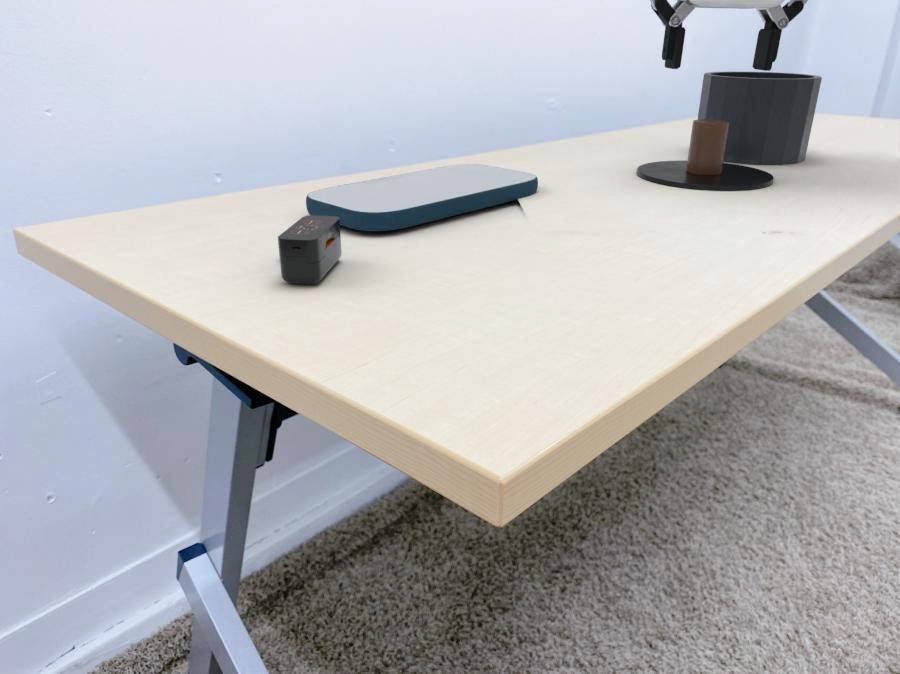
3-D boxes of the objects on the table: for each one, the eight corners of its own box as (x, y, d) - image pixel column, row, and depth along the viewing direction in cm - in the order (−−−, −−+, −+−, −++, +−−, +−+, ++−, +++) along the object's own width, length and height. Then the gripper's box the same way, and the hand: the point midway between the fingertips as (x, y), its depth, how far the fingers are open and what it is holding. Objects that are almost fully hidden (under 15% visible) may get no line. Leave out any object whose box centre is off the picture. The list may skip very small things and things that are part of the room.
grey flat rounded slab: (373, 241, 58) (372, 217, 57) (293, 215, 65) (291, 194, 64) (550, 196, 73) (551, 176, 72) (468, 179, 80) (468, 161, 79)
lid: (739, 169, 87) (749, 113, 84) (796, 196, 74) (810, 130, 71) (621, 169, 86) (627, 113, 84) (657, 196, 73) (666, 130, 70)
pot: (773, 151, 100) (788, 71, 95) (823, 169, 87) (843, 79, 83) (678, 151, 99) (689, 71, 95) (714, 169, 87) (729, 78, 82)
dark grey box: (346, 255, 54) (344, 213, 53) (319, 287, 48) (315, 240, 46) (287, 253, 55) (284, 211, 53) (252, 284, 48) (247, 237, 47)
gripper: (671, -131, 64) (646, 69, 71) (856, -126, 65) (814, 72, 72) (647, -116, 71) (627, 65, 78) (815, -112, 72) (780, 68, 79)
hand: (716, 68), depth 75 cm, fingers open, 9 cm apart
